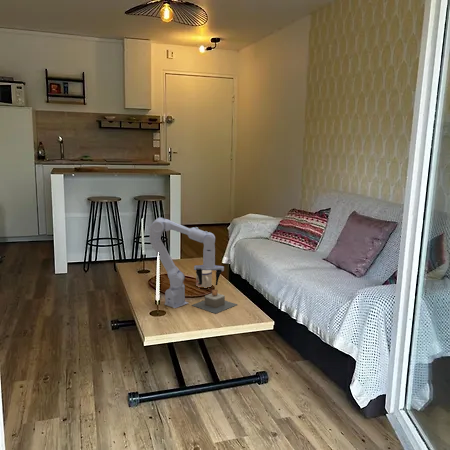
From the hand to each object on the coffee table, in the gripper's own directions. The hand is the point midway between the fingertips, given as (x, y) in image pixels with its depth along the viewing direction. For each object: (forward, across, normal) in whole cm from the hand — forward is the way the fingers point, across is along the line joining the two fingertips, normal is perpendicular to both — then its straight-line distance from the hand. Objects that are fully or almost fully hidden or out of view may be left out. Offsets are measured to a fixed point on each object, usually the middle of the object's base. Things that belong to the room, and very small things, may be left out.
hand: (208, 284), depth 224 cm
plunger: (+9, +3, -1) cm, 9 cm away
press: (+10, +3, -1) cm, 11 cm away
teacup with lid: (+11, -6, +26) cm, 29 cm away
